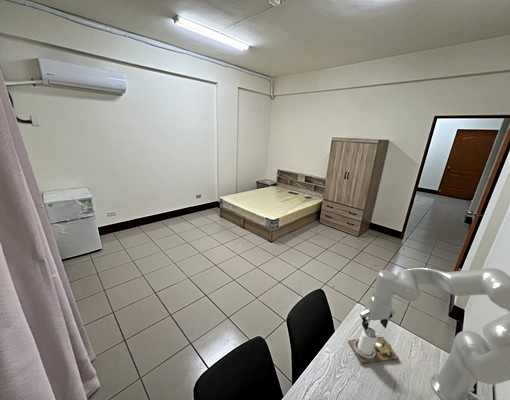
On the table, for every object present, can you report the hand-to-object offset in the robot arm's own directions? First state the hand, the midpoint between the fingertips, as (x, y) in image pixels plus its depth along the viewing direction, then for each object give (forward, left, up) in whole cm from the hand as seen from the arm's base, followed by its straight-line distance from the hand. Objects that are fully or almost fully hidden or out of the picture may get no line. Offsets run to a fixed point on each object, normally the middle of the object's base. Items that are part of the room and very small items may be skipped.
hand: (373, 326), depth 100 cm
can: (+1, 0, -16) cm, 16 cm away
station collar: (+1, 0, -16) cm, 16 cm away
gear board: (-4, 0, -18) cm, 18 cm away
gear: (-9, 0, -16) cm, 19 cm away
